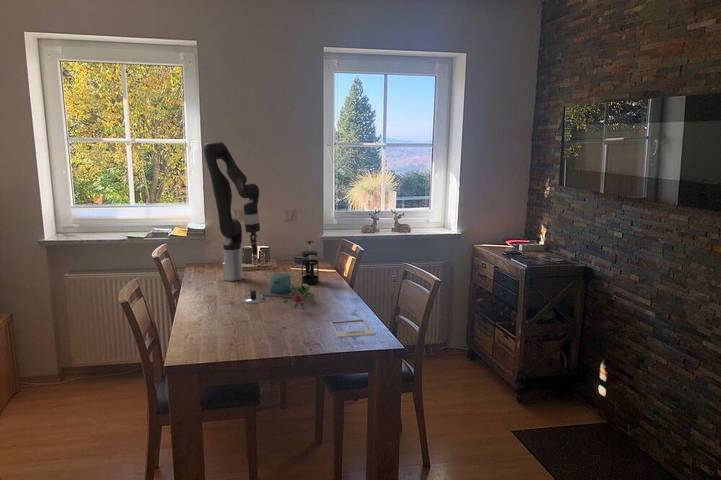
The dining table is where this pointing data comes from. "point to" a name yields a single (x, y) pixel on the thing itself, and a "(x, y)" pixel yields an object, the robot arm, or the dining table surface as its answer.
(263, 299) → the lid
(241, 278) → the robot arm
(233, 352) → the dining table surface
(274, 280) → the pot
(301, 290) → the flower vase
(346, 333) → the photo frame
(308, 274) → the french press
